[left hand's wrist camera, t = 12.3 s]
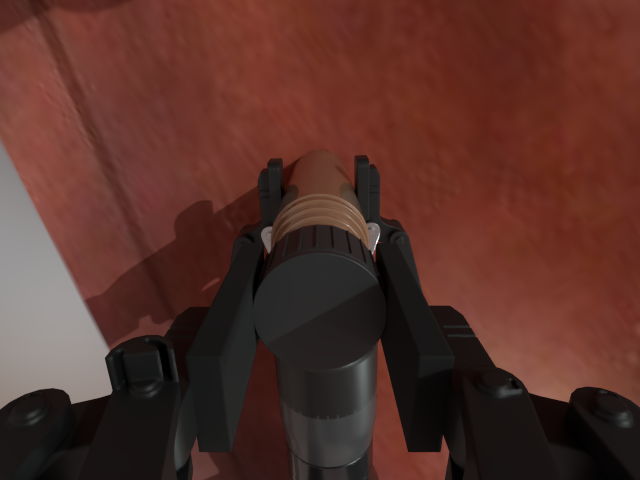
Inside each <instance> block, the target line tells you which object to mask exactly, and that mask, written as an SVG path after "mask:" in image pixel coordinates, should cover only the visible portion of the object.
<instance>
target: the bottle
mask: <svg viewBox="0 0 640 480" xmlns="http://www.w3.org/2000/svg"><path fill="white" fill-rule="evenodd" d="M316 224H319V225H330V226H332V225H334V226H335V227H339V228H342V229H344V230H346V231H347V230H348V231H349V232H350V233H352V234H353V235H355V236H356V237H357V238H359V239H361V240H362V242H363V243H364V244H365V245H366V247H367V248H368V249H369V232H368V227H367V224H366V222H365V219H364V216H363V213H362V210H361V207H360V204H359V202H358V199H357V196H356V193H355V190H354V187H353V185H352V182H351V179H350V176H349V173H348V170H347V168H346V166H345V164H344V163H343V161H342V160H341V159H340V158H339V157H337V156H336V155H334V154H332V153H330V152H327V151H313V152H310V153H307V154H306V155H304V156H303V157H301V158H300V159H299V160H298V161H297V163H296V164H295V166H294V168H293V170H292V173H291V176H290V179H289V181H288V184H287V187H286V190H285V193H284V196H283V198H282V201H281V204H280V207H279V210H278V213H277V215H276V218H275V221H274V224H273V227H272V231H271V249H272V248H273V247H274V244H275V242H278V241H279V240H280V239H281V238H282V237H284V236H285V235H286V233H290V232H292V231H294V230H296V229H298V228H300V227H302V226H303V227H305V226H309V225H316Z"/></svg>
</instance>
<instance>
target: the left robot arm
mask: <svg viewBox="0 0 640 480" xmlns="http://www.w3.org/2000/svg"><path fill="white" fill-rule="evenodd" d="M375 263H377V266H378V269H379V272H380V275H381V278H382V281H383V284H384V287H385V291H384V293H385V297H386V301H387V313H386V325H385V329H384V331H383V334H382V336H381V337H380V338H381V343H382V347H383V351H384V355H385V359H386V363H387V367H388V371H389V375H390V379H391V383H392V387H393V392H394V396H395V400H396V404H397V408H398V412H399V416H400V420H401V424H402V428H403V432H404V436H405V440H406V445H407V449H408V452H440V451H441V445H442V438H443V435H444V438H445V441H446V444H447V446H448V449H449V458H448V465H447V471H446V477H445V480H640V407H638V406H637V405H636V404H634V403H633V402H632V401H630V400H629V399H627V398H625V397H623V396H621V395H619V394H617V393H615V392H612V391H608V390H605V389H602V388H595V387H583V388H577V389H576V390H575V391H574V392H573V393H572V394H571V397H570V400H569V403H568V402H563V401H559V400H555V399H550V398H546V397H541V396H538V395H534V394H531V393H528V390H527V389H526V387H525V386H524V384H523V383H522V381H520V380H519V379H518V378H517V377H515V376H514V375H513V374H511V373H509V372H507V371H505V370H503V369H501V368H497V367H496V366H495V365H494V363H493V362H492V360H491V358H490V357H489V355H488V354H487V352H486V351H485V349H484V347H483V346H482V344H481V343H480V341H479V340H478V338H477V337H476V336H475V333H474V332H473V330H472V329H471V328H470V326H469V324H468V322H467V321H466V319H465V318H464V316H463V315H462V314H461V313H459V312H458V311H456V310H455V309H454V308H452V307H451V306H429V305H428V303H427V301H426V299H425V297H424V295H423V293H422V291H421V289H420V287H419V285H418V284H417V282H416V280H415V278H414V276H413V274H412V272H411V270H410V268H409V266H408V264H407V262H406V260H405V258H404V256H403V254H402V252H401V250H400V248H399V246H398V244H397V243H376V261H375ZM263 264H264V247H263V243H243V244H242V246H241V248H240V250H239V252H238V254H237V255H236V257H235V259H234V261H233V263H232V265H231V267H230V269H229V271H228V273H227V275H226V277H225V279H224V281H223V283H222V285H221V287H220V289H219V291H218V293H217V295H216V297H215V299H214V301H213V303H212V305H211V307H189V308H188V309H187V310H185V311H184V312H182V313H181V314H180V315H178V316H177V317H176V319H175V321H174V322H173V324H172V325H171V327H170V329H169V330H168V332H167V333H166V335H165V337H163V336H159V335H145V336H141V337H136V338H132V339H130V340H128V341H125V342H123V343H121V344H119V345H118V346H116V347H115V348H114V349H112V350H111V351H110V352H109V353H108V355H107V356H106V357H105V361H106V365H107V369H108V373H109V377H110V381H111V385H112V389H113V391H112V394H111V395H108V396H105V397H101V398H97V399H93V400H88V401H84V402H80V403H75V404H71V401H70V398H69V395H68V394H67V393H66V392H64V391H63V390H59V389H54V388H51V389H42V390H37V391H34V392H31V393H28V394H25V395H23V396H21V397H19V398H17V399H15V400H13V401H11V402H10V403H8V404H7V405H6V406H4V407H3V408H2V409H0V480H192V474H193V465H192V458H191V450H192V448H193V445H194V442H195V439H196V436H197V440H198V446H199V452H232V448H233V444H234V439H235V435H236V431H237V427H238V423H239V419H240V415H241V411H242V407H243V403H244V399H245V395H246V391H247V386H248V382H249V378H250V374H251V370H252V366H253V362H254V358H255V354H256V350H257V346H258V342H259V336H258V334H257V332H256V329H255V326H254V316H253V300H254V296H255V292H256V289H257V286H258V283H259V281H258V279H259V276H260V273H261V270H262V267H263Z"/></svg>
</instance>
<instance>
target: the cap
mask: <svg viewBox="0 0 640 480" xmlns="http://www.w3.org/2000/svg"><path fill="white" fill-rule="evenodd" d="M258 281H259V283H258V286H257V289H256V292H255V296H254V300H253V316H254V326H255V329H256V332H257V334H258V336H259V338H260V339H261V341H262V342H263V344H264V345H265V346H266V347H267V348H268V349H269V350H270V351H271V352H272V353H273V354H274V355H275V356H277V357H278V358H280V359H281V360H283V361H285V362H287V363H289V364H291V365H294V366H297V367H300V368H304V369H311V370H330V369H335V368H340V367H343V366H346V365H349V364H351V363H353V362H355V361H357V360H359V359H360V358H362V357H363V356H364V355H366V354H367V353H368V352H369V351H370V350H371V349H372V348H373V347H374V346H375V345H376V343H377V342H378V341H379V339H380V337H381V336H382V334H383V331H384V329H385V325H386V313H387V301H386V297H385V293H384V291H385V287H384V284H383V281H382V278H381V275H380V272H379V269H378V266H377V263H375V261H374V258H373V255H372V252H371V250H369V249H368V248H367V247H366V245H365V244H364V243H363V242H362V240H361V239H359V238H357V237H356V236H355V235H353V234H352V233H350V232H349V231H348V230H347V231H346V230H344V229H342V228H339V227H335V226H334V225H332V226H330V225H319V224H316V225H309V226H305V227H303V226H302V227H300V228H298V229H296V230H294V231H292V232H290V233H286V235H285V236H284V237H282V238H281V239H280V240H279V241H278V242H275V244H274V247H273V248H272V249H271V251H270V253H269V254H267V255H266V258H265V261H264V264H263V267H262V270H261V273H260V276H259V279H258Z"/></svg>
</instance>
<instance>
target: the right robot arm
mask: <svg viewBox="0 0 640 480" xmlns="http://www.w3.org/2000/svg"><path fill="white" fill-rule="evenodd" d="M354 169H355V193H356V196H357V199H358V202H359V204H360V207H361V210H362V213H363V216H364V219H365V222H366V224H367V227H368V232H369V250H371V252H372V254H373V252H374V249H375V246H376V243H377V241H379V242H382V243H397V244H398V246H399V248H400V250H401V252H402V254H403V256H404V258H405V260H406V262H407V264H408V266H409V268H410V270H411V272H412V274H413V276H414V278H415V280H416V282H417V284H418V285H419V287H420V289H421V285H420V281H419V277H418V273H417V269H416V265H415V261H414V257H413V253H412V249H411V245H410V241H409V237H408V235H407V233H406V232H405V230H404V228H403V227H402V225H401V224H400V222H399V221H397V220H394V219H393V220H388V219H385V218H383V217H381V216H380V175H379V173H378V170H377V168H376V167H375V165H374V164H371V165H369V159H368V157H367V156H366V155H359V156H355V159H354ZM258 188H259V197H260V208H261V217H262V220H261V221H260V222H259V223H256V224H254V225H245V226H244V227H243V228H242V229H241V231H240V234H239V236H238V237H237V238H236V240H235V242H234V246H233V252H232V258H231V264H230V267H231V265H232V263H233V261H234V259H235V257H236V255H237V254H238V252H239V250H240V248H241V246H242V244H243V243H263V246H265V247H266V249H267V251H268V253H270V251H271V231H272V227H273V224H274V221H275V218H276V215H277V213H278V210H279V207H280V204H281V201H282V198H283V196H284V193H285V188H284V175H283V163H282V158H279V159H270V160H269V162H268V166H267V168H266V169H263V170H262V171H261V173H260V176H259V179H258ZM421 291H422V289H421ZM377 343H378V342H377ZM377 343H376V345H375V346H374V347H373V348H372V349H371V350H370V351H369V352H368V353H367V354H366V355H364V356H363V357H362V358H360V359H359V360H357V361H355V362H353V363H351V364H349V365H346V366H343V367H340V368H335V369H330V370H311V369H304V368H300V367H297V366H294V365H291V364H289V363H287V362H285V361H283V360H281V359H280V358H278V357H277V356H275V364H276V374H277V384H278V394H279V404H280V413H281V419H282V423H283V427H284V430H285V434H286V441H287V451H288V463H289V471H290V476H291V479H292V480H379V479H378V476H377V473H376V470H375V468H374V465H373V428H374V423H375V417H376V405H377Z"/></svg>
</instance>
